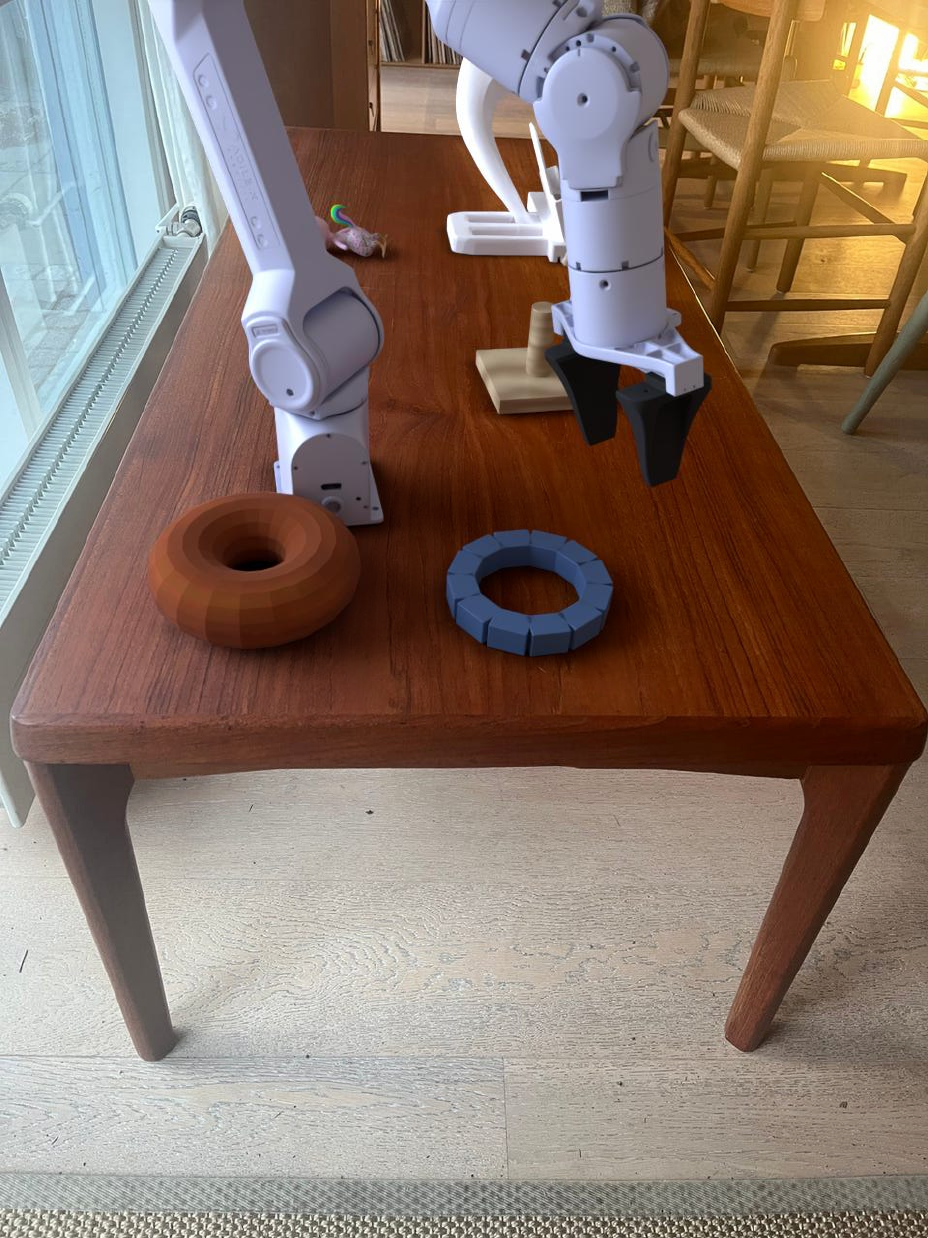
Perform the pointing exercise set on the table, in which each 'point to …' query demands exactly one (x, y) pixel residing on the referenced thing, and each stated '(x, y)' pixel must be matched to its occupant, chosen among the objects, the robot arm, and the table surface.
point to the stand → (525, 371)
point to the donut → (256, 600)
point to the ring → (521, 629)
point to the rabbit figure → (350, 235)
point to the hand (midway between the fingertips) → (629, 459)
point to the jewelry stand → (503, 183)
